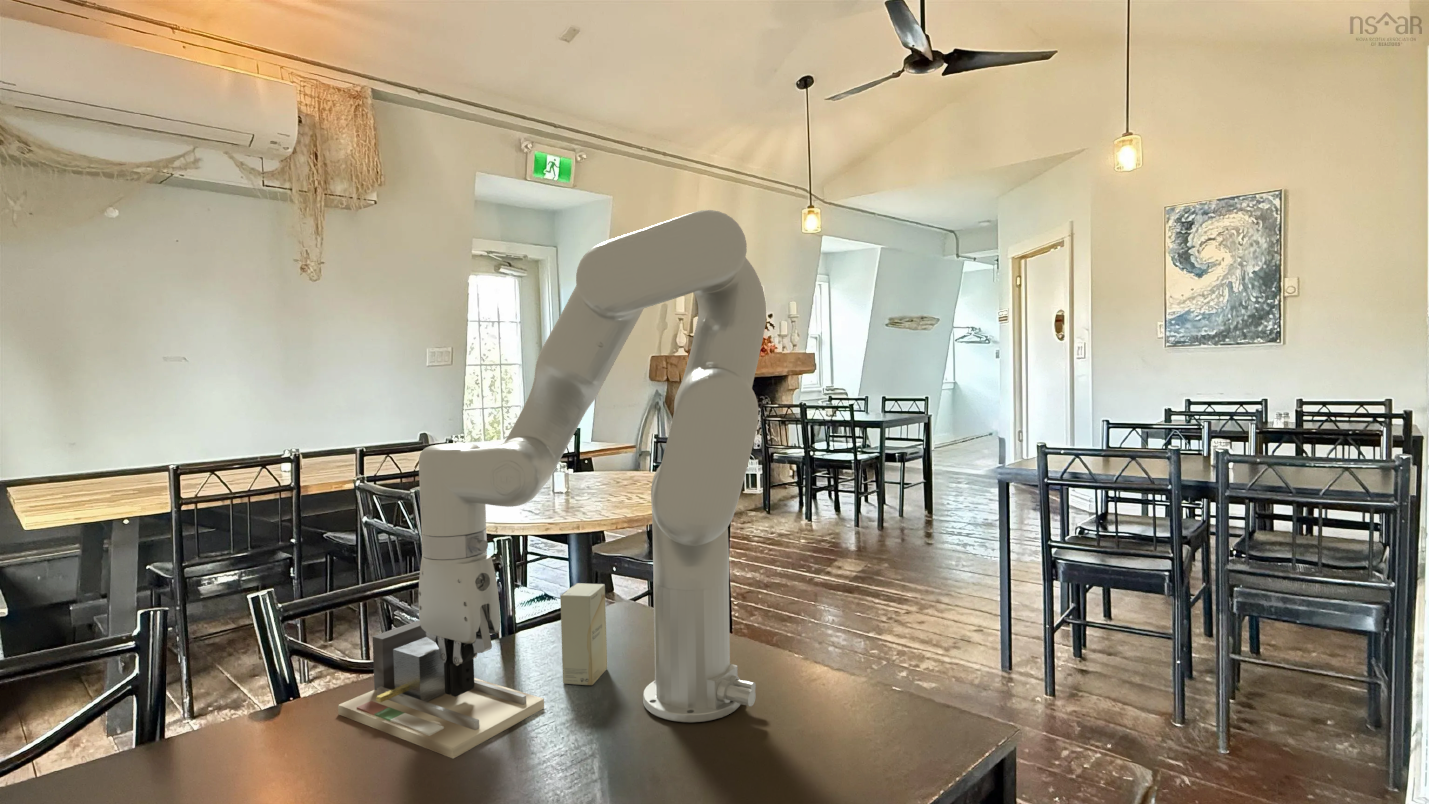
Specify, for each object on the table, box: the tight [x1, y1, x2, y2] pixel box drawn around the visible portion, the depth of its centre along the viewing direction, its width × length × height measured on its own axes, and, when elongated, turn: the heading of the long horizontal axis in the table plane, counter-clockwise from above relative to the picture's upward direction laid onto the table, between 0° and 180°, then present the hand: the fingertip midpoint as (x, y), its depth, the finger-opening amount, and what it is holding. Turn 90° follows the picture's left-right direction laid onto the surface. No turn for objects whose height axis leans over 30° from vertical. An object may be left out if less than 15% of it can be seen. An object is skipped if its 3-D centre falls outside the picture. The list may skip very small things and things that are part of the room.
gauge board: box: [337, 619, 545, 759], centre depth 95 cm, size 21×14×8 cm, turn 58°
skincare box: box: [560, 582, 608, 686], centre depth 105 cm, size 6×4×12 cm
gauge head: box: [376, 637, 446, 703], centre depth 96 cm, size 5×10×6 cm, turn 148°
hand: (459, 691), depth 95 cm, fingers closed
